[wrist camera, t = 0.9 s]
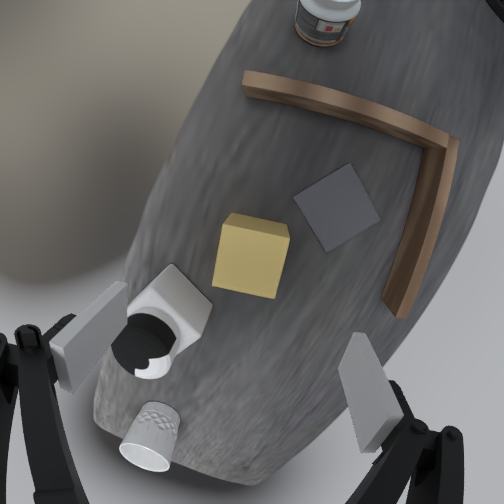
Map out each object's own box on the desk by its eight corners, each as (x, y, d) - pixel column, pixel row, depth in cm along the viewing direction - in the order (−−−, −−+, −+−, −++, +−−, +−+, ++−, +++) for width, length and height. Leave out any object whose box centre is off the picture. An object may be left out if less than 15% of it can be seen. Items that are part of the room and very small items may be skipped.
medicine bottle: (137, 295, 35) (90, 348, 24) (172, 261, 33) (128, 310, 22) (176, 334, 36) (145, 397, 25) (214, 304, 35) (190, 368, 23)
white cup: (166, 432, 44) (151, 474, 34) (131, 407, 42) (110, 448, 33) (193, 419, 42) (180, 467, 32) (156, 392, 40) (135, 438, 31)
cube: (286, 224, 31) (290, 238, 26) (274, 275, 33) (274, 299, 27) (231, 212, 31) (222, 223, 26) (221, 264, 33) (211, 285, 27)
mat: (391, 175, 29) (391, 175, 29) (367, 262, 32) (367, 262, 32) (303, 150, 29) (303, 149, 29) (281, 242, 32) (281, 243, 32)
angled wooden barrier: (436, 141, 27) (459, 139, 22) (391, 299, 33) (406, 319, 28) (249, 83, 27) (244, 69, 22) (213, 262, 33) (203, 279, 28)
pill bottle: (349, 48, 25) (377, 10, 15) (298, 48, 25) (308, 6, 16) (339, 8, 23) (360, -36, 14) (289, 8, 24) (295, -40, 14)
